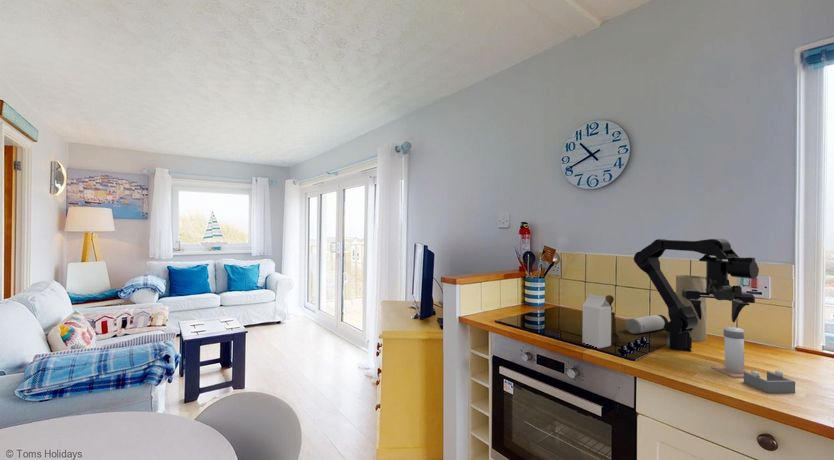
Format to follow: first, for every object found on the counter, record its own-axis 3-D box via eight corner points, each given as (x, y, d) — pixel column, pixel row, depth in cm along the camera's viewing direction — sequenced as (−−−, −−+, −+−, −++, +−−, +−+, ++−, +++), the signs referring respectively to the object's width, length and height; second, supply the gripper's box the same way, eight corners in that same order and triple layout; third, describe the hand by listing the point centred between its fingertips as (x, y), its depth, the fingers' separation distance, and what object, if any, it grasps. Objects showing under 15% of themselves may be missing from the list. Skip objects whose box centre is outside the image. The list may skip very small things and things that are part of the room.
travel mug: (642, 330, 150) (673, 325, 158) (633, 316, 154) (663, 311, 162) (631, 337, 155) (661, 331, 163) (622, 322, 158) (652, 318, 167)
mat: (711, 367, 117) (711, 366, 117) (735, 367, 117) (735, 365, 117) (734, 378, 109) (734, 376, 109) (759, 377, 109) (759, 376, 109)
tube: (671, 337, 150) (672, 276, 149) (680, 333, 156) (680, 274, 156) (701, 343, 142) (702, 279, 142) (709, 338, 148) (709, 277, 148)
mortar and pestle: (600, 341, 143) (600, 296, 143) (599, 337, 149) (599, 293, 149) (619, 344, 141) (620, 297, 141) (617, 339, 147) (617, 294, 147)
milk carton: (598, 349, 135) (599, 297, 135) (582, 343, 141) (582, 294, 141) (611, 346, 138) (611, 296, 138) (594, 341, 144) (594, 293, 144)
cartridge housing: (742, 382, 106) (742, 367, 106) (770, 381, 106) (770, 367, 106) (766, 393, 99) (766, 377, 99) (796, 392, 99) (796, 377, 99)
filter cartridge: (720, 368, 115) (719, 326, 116) (735, 367, 115) (734, 326, 116) (734, 373, 111) (733, 330, 111) (749, 373, 111) (748, 330, 111)
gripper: (691, 276, 121) (690, 323, 121) (763, 279, 114) (763, 329, 114) (681, 273, 131) (681, 316, 132) (747, 275, 124) (747, 321, 124)
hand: (716, 320), depth 125 cm, fingers open, 9 cm apart
